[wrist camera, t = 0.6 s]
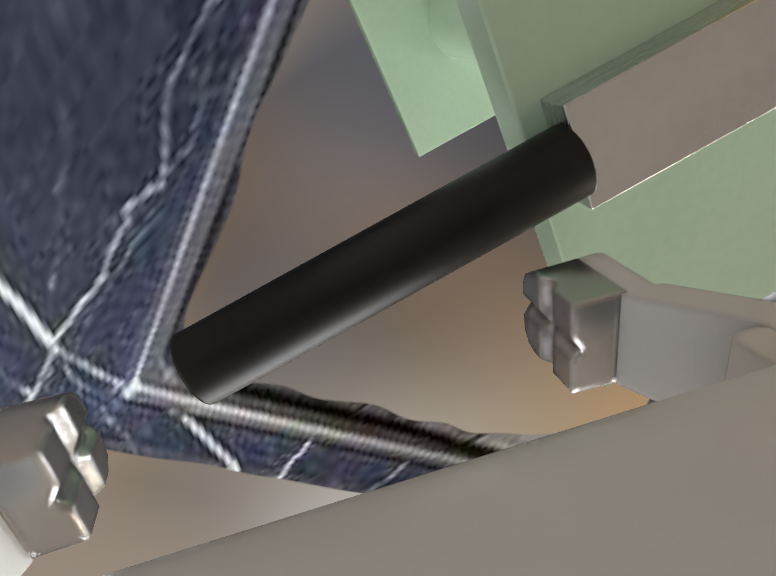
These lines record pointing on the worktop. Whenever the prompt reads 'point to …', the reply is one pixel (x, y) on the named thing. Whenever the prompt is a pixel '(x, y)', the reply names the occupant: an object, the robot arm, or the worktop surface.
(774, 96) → the cake knife
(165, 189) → the worktop surface
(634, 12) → the cake stand
